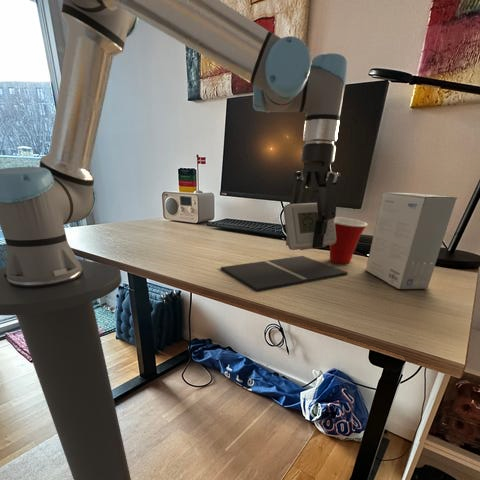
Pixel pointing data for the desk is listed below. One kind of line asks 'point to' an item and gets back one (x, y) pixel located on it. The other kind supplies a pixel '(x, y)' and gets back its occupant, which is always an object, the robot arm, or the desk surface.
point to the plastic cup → (345, 239)
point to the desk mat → (281, 272)
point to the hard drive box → (409, 238)
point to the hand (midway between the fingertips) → (307, 243)
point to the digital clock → (305, 226)
